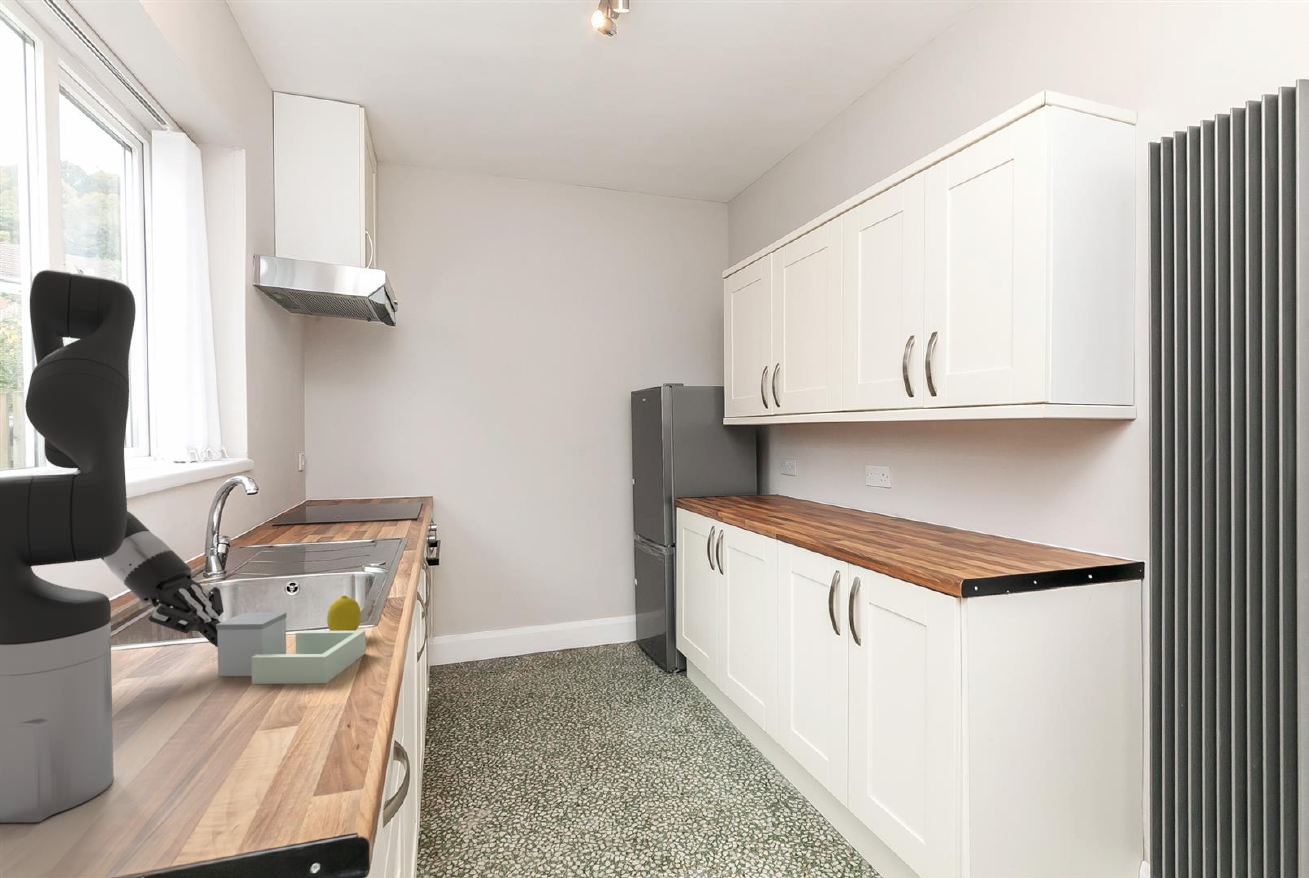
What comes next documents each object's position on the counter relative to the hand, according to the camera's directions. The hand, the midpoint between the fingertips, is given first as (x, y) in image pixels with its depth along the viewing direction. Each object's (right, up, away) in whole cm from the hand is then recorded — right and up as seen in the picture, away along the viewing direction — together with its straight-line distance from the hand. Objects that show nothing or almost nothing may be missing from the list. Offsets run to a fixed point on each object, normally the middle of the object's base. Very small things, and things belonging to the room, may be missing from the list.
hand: (225, 641), depth 99 cm
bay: (+14, -4, 0) cm, 14 cm away
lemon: (+12, -4, +14) cm, 19 cm away
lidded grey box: (+4, -4, 0) cm, 6 cm away
